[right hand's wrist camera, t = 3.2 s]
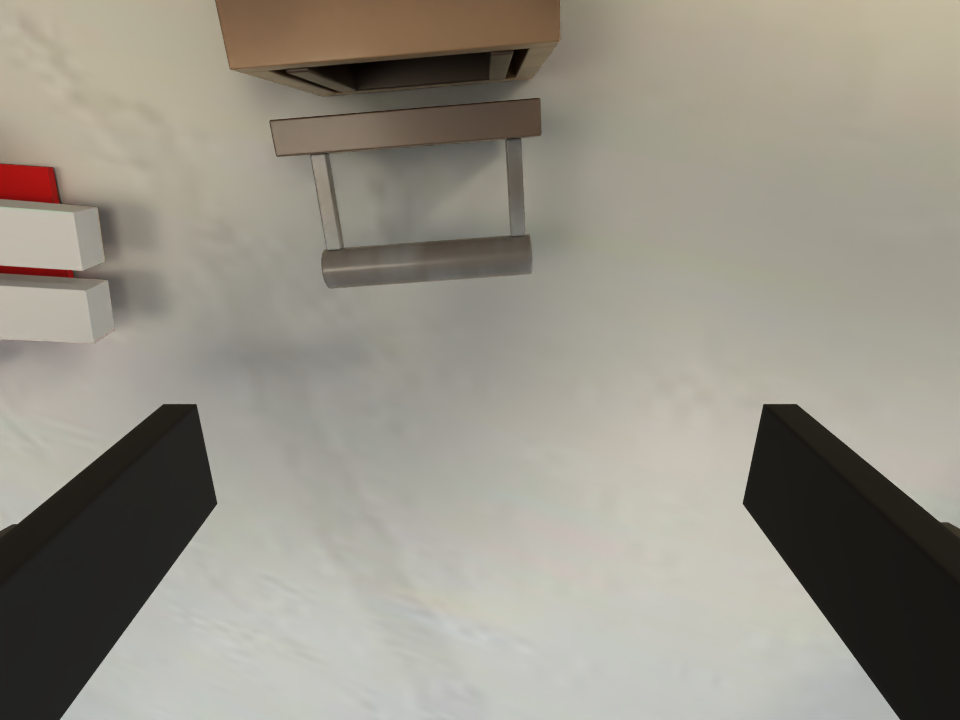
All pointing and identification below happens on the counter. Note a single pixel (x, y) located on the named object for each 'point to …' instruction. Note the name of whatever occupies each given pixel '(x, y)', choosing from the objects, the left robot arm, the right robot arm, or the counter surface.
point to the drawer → (414, 131)
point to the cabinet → (382, 34)
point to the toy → (48, 262)
